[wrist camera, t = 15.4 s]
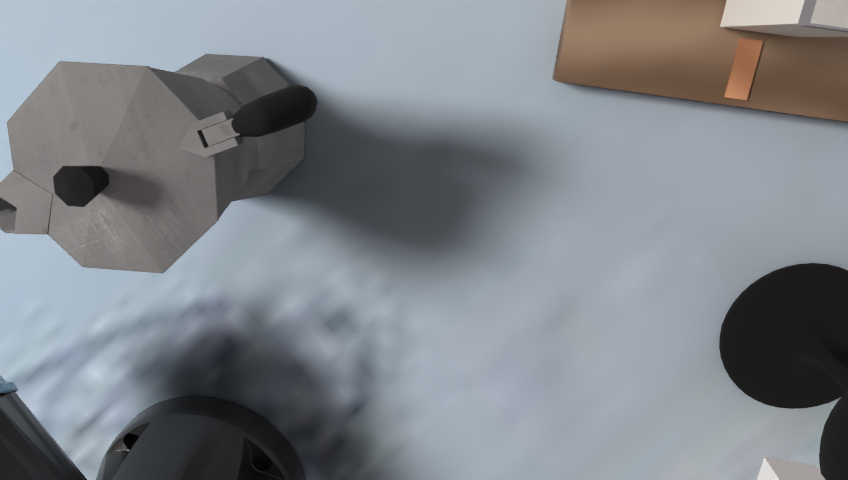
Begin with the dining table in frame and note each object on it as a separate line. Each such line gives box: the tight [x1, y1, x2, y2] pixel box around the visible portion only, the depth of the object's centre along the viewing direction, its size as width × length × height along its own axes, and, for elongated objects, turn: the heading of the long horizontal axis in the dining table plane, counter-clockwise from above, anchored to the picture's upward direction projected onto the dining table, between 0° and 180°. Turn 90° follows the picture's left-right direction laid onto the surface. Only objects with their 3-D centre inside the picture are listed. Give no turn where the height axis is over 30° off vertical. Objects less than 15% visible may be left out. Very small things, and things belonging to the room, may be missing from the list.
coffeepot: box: [0, 54, 317, 273], centre depth 33 cm, size 15×9×18 cm, turn 110°
